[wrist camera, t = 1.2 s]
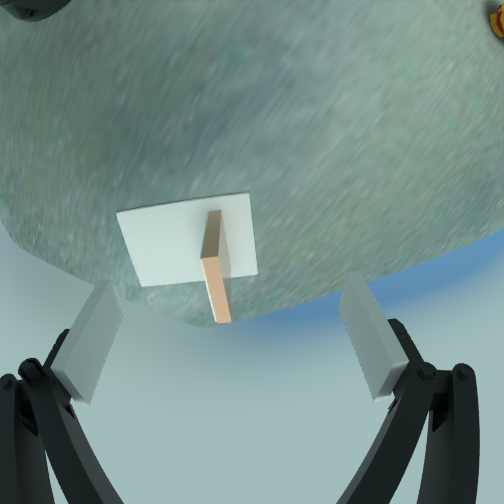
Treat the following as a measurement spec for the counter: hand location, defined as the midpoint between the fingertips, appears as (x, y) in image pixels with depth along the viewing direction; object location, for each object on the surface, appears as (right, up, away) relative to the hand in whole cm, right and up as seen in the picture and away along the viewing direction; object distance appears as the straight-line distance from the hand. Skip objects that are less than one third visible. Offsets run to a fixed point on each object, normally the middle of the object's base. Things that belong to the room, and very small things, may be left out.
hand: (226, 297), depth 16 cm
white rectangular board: (-8, +4, +29) cm, 30 cm away
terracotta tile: (-3, +4, +28) cm, 29 cm away
